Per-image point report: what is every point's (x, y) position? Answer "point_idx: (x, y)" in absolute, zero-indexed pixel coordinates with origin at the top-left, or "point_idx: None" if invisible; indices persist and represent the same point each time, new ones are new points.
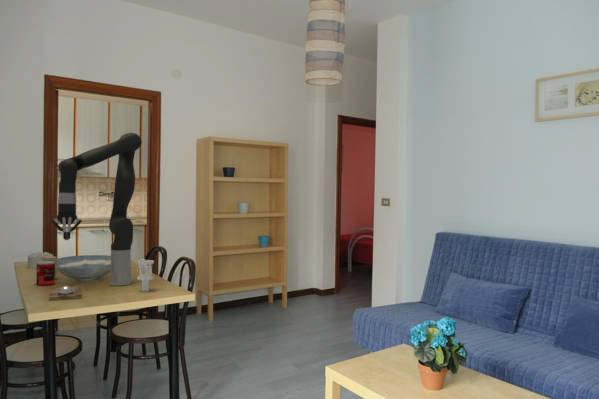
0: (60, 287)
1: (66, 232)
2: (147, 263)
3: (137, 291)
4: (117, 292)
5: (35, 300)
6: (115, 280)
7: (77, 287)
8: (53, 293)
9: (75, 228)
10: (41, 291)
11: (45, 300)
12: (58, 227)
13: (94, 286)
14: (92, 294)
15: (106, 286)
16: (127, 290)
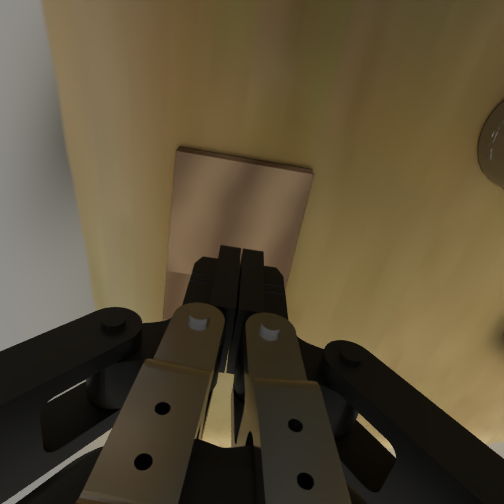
0: (219, 158)
1: (220, 371)
2: None
3: (489, 327)
4: (418, 308)
5: (118, 296)
6: (500, 184)
7: (292, 201)
8: (179, 279)
9: (364, 446)
10: (134, 121)
11: (152, 312)
12: (61, 431)
13: (396, 123)
14: (324, 297)
15: (445, 157)
16: (470, 293)
